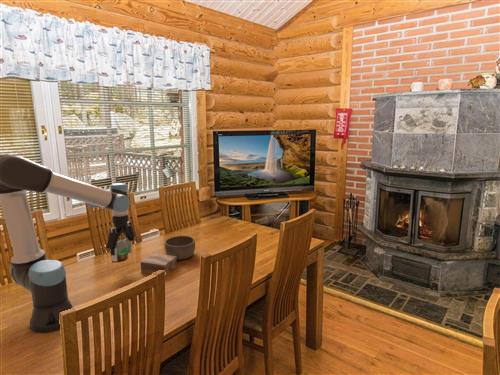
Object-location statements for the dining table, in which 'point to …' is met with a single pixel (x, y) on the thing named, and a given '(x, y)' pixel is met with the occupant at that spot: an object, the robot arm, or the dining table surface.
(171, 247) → the bowl
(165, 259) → the walnut block
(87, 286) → the dining table surface
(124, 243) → the food container
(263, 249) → the dining table surface
